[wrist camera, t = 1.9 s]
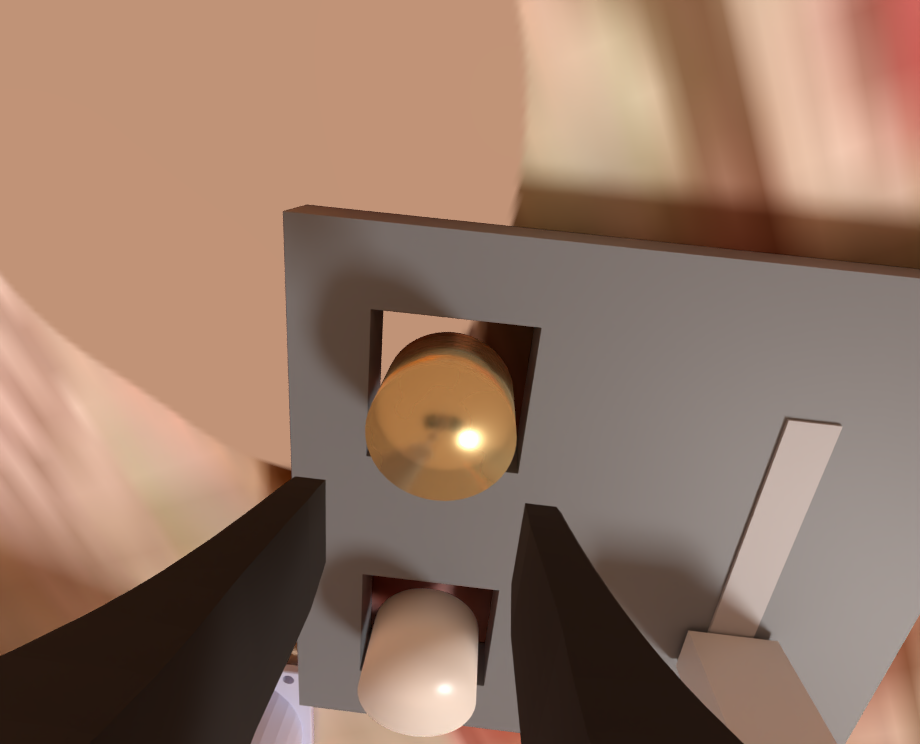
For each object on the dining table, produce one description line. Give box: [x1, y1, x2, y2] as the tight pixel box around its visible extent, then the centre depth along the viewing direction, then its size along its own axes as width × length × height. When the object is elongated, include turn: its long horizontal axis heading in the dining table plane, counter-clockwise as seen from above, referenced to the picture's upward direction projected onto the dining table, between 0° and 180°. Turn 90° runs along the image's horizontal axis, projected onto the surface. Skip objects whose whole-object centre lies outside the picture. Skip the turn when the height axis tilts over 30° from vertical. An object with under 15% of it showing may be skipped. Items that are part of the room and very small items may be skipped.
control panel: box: [283, 205, 920, 744], centre depth 19 cm, size 22×20×2 cm
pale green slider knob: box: [676, 630, 837, 744], centre depth 17 cm, size 3×2×5 cm, turn 85°
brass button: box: [365, 332, 517, 501], centre depth 15 cm, size 4×4×3 cm
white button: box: [358, 588, 479, 737], centre depth 19 cm, size 4×4×3 cm
